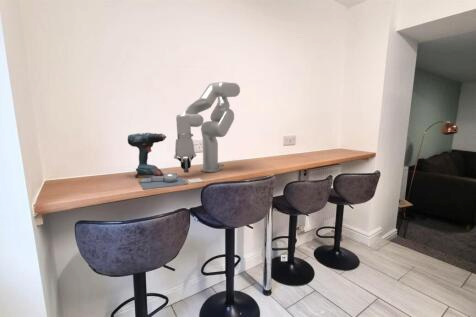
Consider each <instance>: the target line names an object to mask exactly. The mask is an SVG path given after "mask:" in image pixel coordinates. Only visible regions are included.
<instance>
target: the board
mask: <svg viewBox="0 0 476 317" xmlns="http://www.w3.org/2000/svg"><path fill="white" fill-rule="evenodd" d="M137 181H138V184H139V185H140V187H141V188H142V190H143V191H144V190H145V191H146V190H152V189H160V188H169V187H177V186H183V185H184V186H185V185H189V183H190V182H189V183H188V181H187V180H185V179H184V178H182V177H181V176H180V175H177V181H175V182H164V181H152V182H139V179H137Z"/></svg>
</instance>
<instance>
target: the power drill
mask: <svg viewBox="0 0 476 317" xmlns="http://www.w3.org/2000/svg"><path fill="white" fill-rule="evenodd" d="M166 138H167V136H166V134H164V133H153V132H145V133H144V132H143V133H140V132H139V133H133V134H128V136H127V143H128V145H129V146H131V147H132V148H133V147H134V148H138V166H137V168H135V171H136V174H135V178H138V179H139V178H140V177H141V176H163V174H164V173H163V171H162V170H161V169H160V168H158V166H156V165H154V164H148V158H149V157H148V156H149V153H151V152H152V147H153V146H154V144H155V143H157V144H158V143H160V142H163V141H165V140H166Z"/></svg>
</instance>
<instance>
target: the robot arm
mask: <svg viewBox="0 0 476 317" xmlns="http://www.w3.org/2000/svg"><path fill="white" fill-rule="evenodd" d="M240 92H241V87H240V86H239V84H238V83H237V82H226V81H222V82H221V81H220V82H219V81H218V82H212V83H209V84H208V86H206V88H205V90H204V91H203V93H202V94H201V95H200V97H199V98H198V99H197V100H195V101H194V102H192V103H191V104H190V105H188V107H186V108H185V110H184V111H183V112H182V113H181V114H177V115H176V116H175V117H176V134H177V137H176V139H175V151H174V152H175V153H174V156H173V159H175V160H177V161H179V162H180V168H181V169H182V170H184V169H185V167H184V162H183V158H188V168H189V169H191V166H192V161H193V159H194V158H196V157H197V153H196V152H195V145H194V140H193V137H194V134H193V133H192V130H191V127H192V128H199V127H200V132H201V136H202V167H201V168H200V171H201V172H204V173H217V172H219V171H220V172H221V168H223V167H225V166H226V165H225V163H219V160H218V159H219V153H218V151H219V142H218V140H217V138H224V137H225V136H226V135H227V134H228V132H229V131H230V128H231V127H232V124H233V123H234V120H235V113H234V111H233V110H232V109H231V108H230V106H231V105H230V101H229V100H228V98H236V97H237V96H239V94H240ZM216 100H217V103H216V105H215V107H214V108H213V110H212V111H211V114H210V121H204V118H203V115H201V114H200V113H202V112H204V111H207V110H209V109H210V108H211V107H212V106H213V105H214V103H215V101H216Z"/></svg>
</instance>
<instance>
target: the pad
mask: <svg viewBox="0 0 476 317" xmlns="http://www.w3.org/2000/svg"><path fill="white" fill-rule="evenodd" d="M186 182H189V183H190V184H197V183H204V180H203V179H201V178H199V177H198V178H189V179H186Z"/></svg>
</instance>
